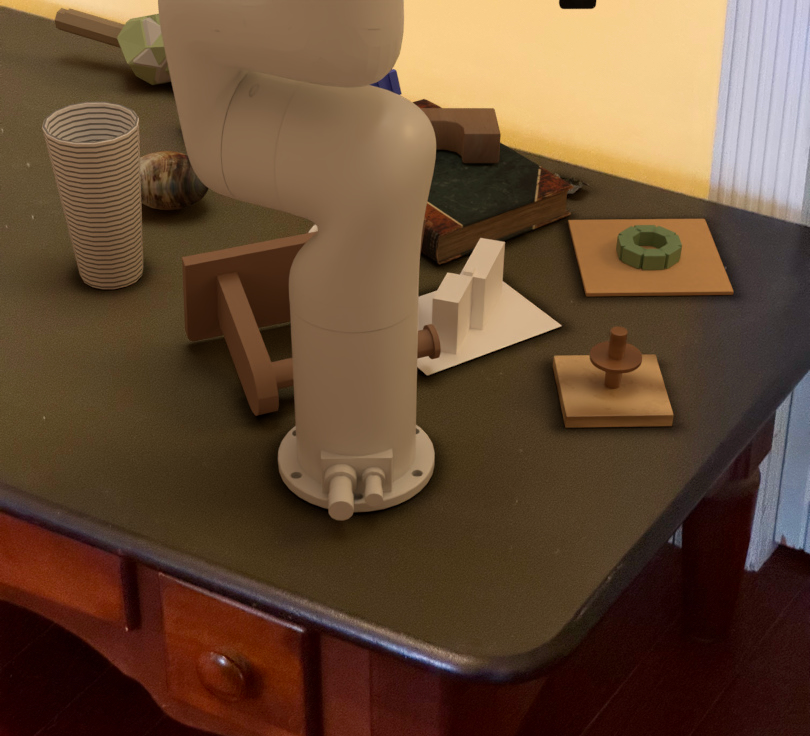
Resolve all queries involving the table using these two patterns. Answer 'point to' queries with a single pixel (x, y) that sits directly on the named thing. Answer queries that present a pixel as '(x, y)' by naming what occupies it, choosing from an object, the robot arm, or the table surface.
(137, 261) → the cup
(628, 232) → the ring
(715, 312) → the table surface
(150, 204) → the seashell
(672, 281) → the cork mat
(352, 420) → the robot arm
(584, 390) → the ring peg
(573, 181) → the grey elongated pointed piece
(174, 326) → the table surface
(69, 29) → the decorative object
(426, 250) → the book
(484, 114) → the wooden block
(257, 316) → the toilet paper hanger
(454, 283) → the napkin holder
